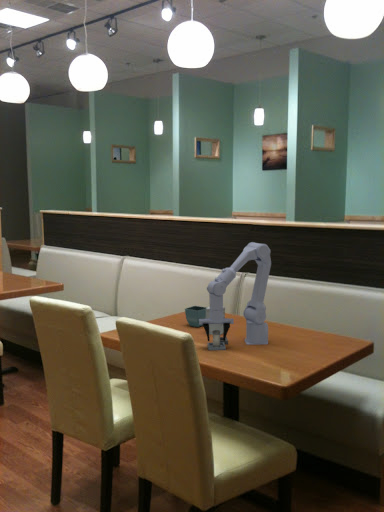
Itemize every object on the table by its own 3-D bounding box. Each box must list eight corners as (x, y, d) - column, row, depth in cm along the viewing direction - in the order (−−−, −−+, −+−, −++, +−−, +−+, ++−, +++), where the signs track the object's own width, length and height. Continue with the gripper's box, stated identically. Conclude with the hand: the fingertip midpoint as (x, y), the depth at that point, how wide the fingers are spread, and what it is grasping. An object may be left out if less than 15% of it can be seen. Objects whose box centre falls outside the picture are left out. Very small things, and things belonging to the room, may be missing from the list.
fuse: (219, 346, 229) (219, 330, 228) (220, 348, 225) (220, 332, 225) (212, 346, 229) (212, 330, 228) (212, 348, 225) (212, 332, 225)
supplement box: (205, 334, 248) (205, 308, 247) (210, 330, 255) (210, 305, 254) (220, 336, 246) (220, 309, 244) (225, 332, 252) (225, 306, 251)
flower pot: (194, 322, 271) (194, 305, 270) (209, 325, 266) (209, 307, 265) (184, 326, 264) (184, 308, 263) (198, 328, 259) (198, 310, 258)
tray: (224, 345, 231) (224, 342, 231) (225, 350, 224) (225, 347, 223) (207, 346, 230) (207, 342, 230) (208, 351, 223) (208, 347, 223)
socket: (226, 341, 238) (226, 336, 237) (228, 345, 232) (228, 340, 231) (213, 341, 237) (213, 337, 237) (214, 345, 231) (214, 341, 231)
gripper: (232, 306, 229) (232, 337, 231) (198, 307, 229) (198, 338, 230) (234, 310, 222) (234, 342, 224) (199, 311, 222) (199, 342, 223)
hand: (216, 340), depth 227 cm, fingers open, 6 cm apart
